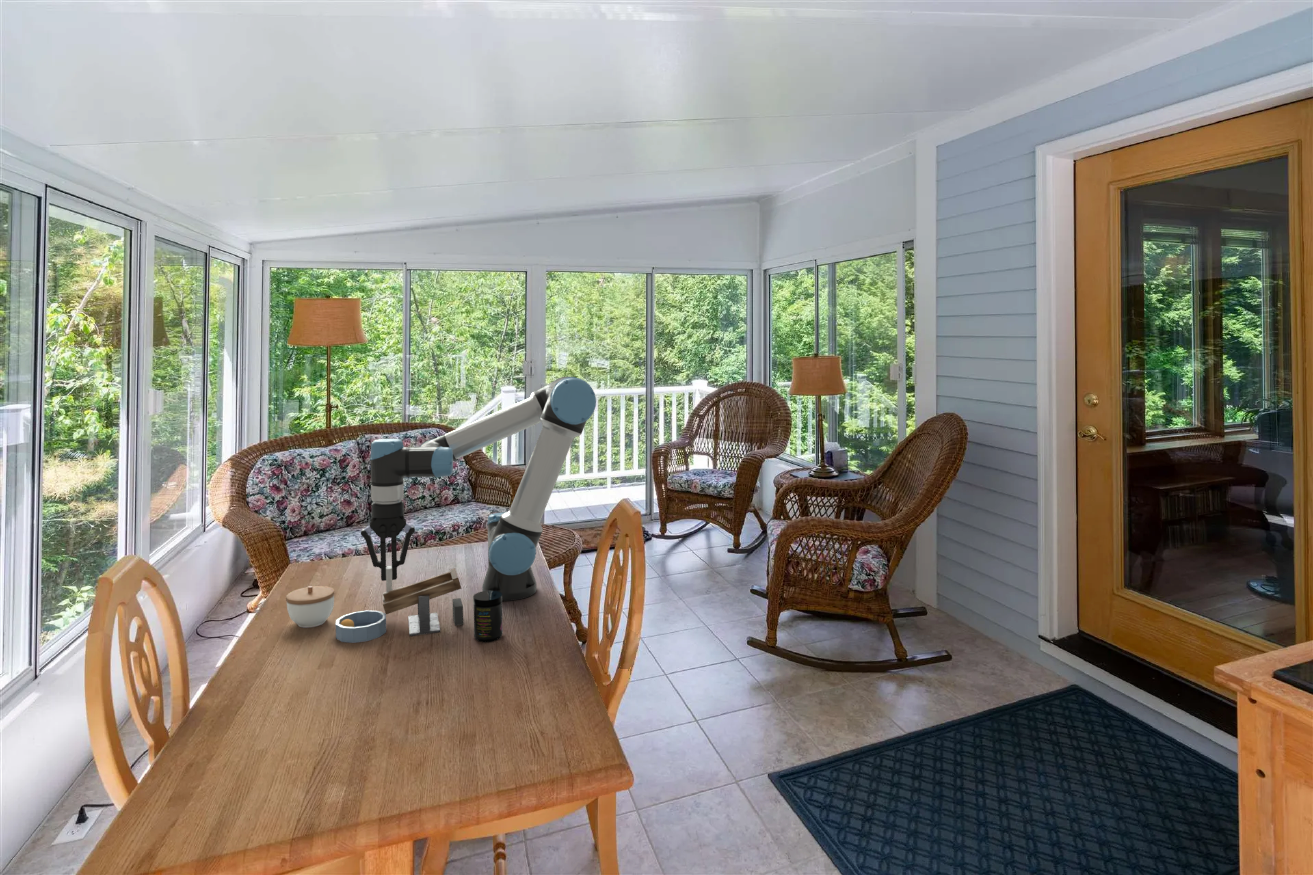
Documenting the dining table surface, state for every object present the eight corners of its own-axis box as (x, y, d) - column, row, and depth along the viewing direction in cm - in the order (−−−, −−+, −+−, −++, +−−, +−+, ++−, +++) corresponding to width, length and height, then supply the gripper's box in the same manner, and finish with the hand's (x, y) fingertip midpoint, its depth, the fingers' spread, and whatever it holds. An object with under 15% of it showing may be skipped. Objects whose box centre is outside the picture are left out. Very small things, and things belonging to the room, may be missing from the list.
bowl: (386, 621, 168) (385, 608, 167) (386, 638, 157) (385, 624, 157) (338, 627, 163) (337, 613, 163) (334, 645, 153) (334, 630, 153)
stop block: (460, 615, 172) (460, 598, 171) (463, 624, 166) (463, 605, 166) (452, 616, 171) (452, 598, 171) (455, 625, 166) (454, 606, 165)
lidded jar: (315, 633, 160) (313, 595, 159) (277, 629, 162) (275, 592, 161) (344, 616, 170) (343, 581, 169) (308, 613, 172) (306, 578, 171)
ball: (340, 617, 160) (340, 630, 160) (339, 622, 157) (339, 635, 157) (354, 616, 161) (354, 629, 161) (354, 621, 158) (354, 634, 158)
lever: (456, 572, 177) (453, 561, 176) (461, 588, 164) (458, 577, 164) (384, 596, 170) (380, 585, 170) (383, 615, 158) (379, 603, 157)
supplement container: (503, 641, 157) (502, 599, 155) (473, 644, 155) (473, 601, 154) (502, 630, 163) (501, 589, 162) (473, 633, 161) (473, 591, 160)
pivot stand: (437, 614, 172) (436, 580, 171) (440, 632, 161) (439, 595, 160) (408, 618, 170) (407, 583, 169) (409, 636, 159) (408, 599, 158)
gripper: (414, 496, 172) (416, 585, 175) (359, 499, 167) (362, 590, 170) (415, 502, 165) (417, 594, 168) (358, 505, 160) (360, 599, 163)
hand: (389, 592), depth 169 cm, fingers closed
